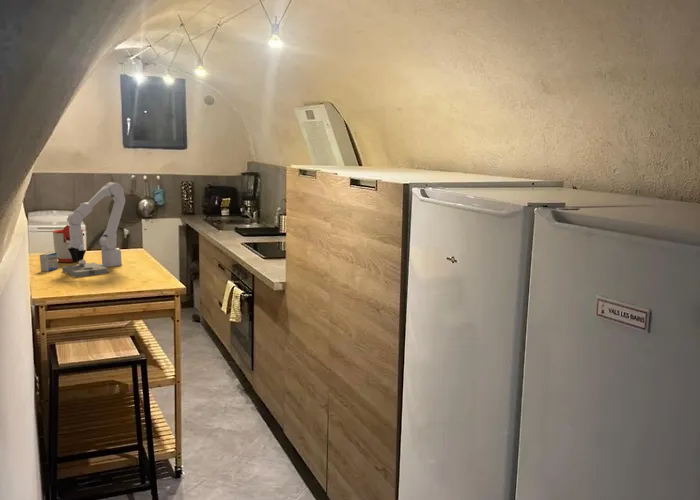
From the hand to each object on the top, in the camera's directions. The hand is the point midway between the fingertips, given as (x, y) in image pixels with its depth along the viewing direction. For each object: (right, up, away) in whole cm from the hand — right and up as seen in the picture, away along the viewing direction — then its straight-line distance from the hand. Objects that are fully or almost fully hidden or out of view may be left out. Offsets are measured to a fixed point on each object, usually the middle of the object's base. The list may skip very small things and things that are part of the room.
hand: (77, 262), depth 339 cm
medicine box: (-14, -4, -2) cm, 14 cm away
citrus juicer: (-13, 0, +22) cm, 26 cm away
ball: (+4, 0, -5) cm, 7 cm away
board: (+7, -5, -8) cm, 11 cm away
